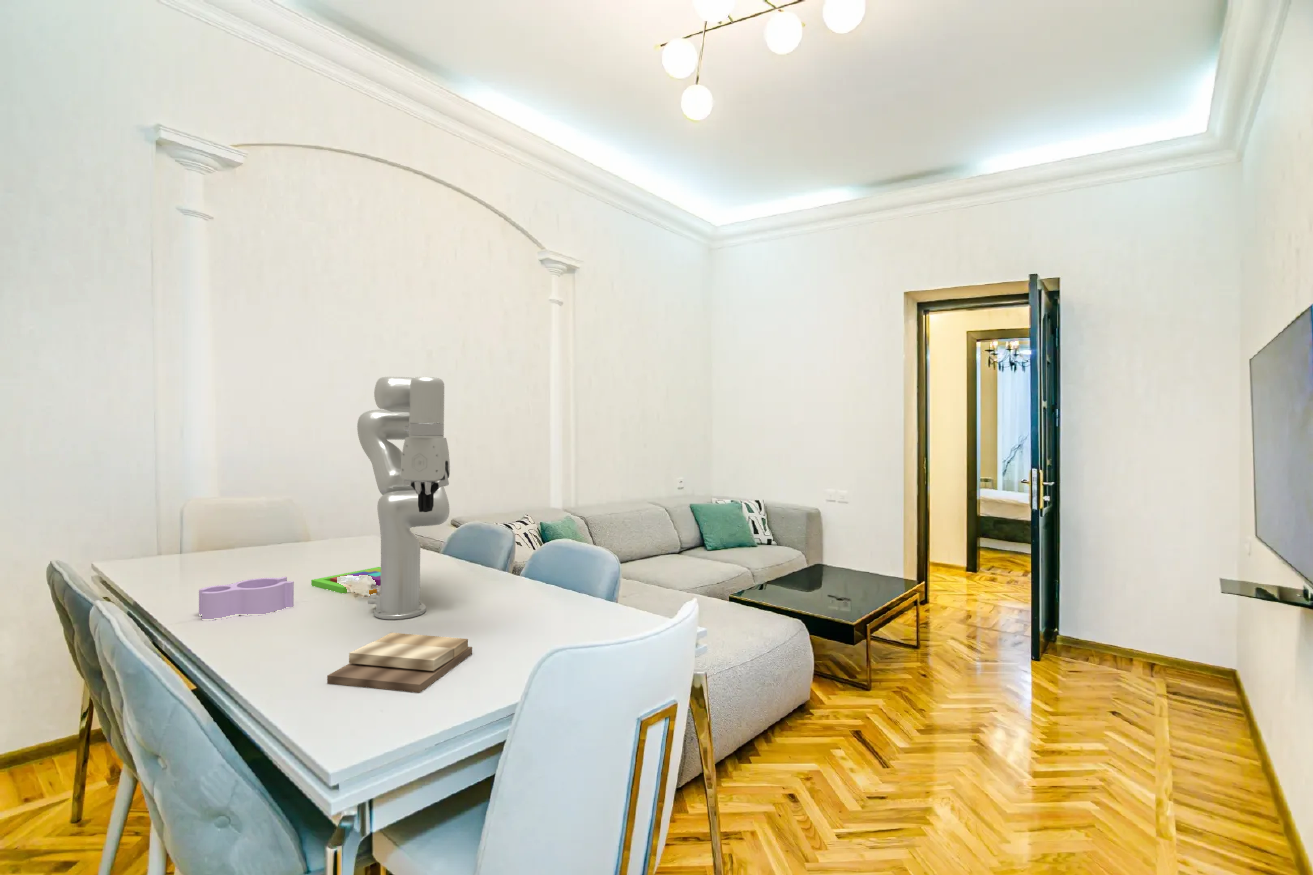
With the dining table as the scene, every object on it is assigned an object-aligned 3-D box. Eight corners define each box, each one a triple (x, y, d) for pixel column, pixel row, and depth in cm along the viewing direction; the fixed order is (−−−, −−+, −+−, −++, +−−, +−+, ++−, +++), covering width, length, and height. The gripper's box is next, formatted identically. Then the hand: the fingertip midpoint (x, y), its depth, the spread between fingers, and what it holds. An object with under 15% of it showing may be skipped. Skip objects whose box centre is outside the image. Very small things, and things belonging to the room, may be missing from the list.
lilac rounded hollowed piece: (204, 625, 158) (205, 596, 158) (195, 613, 167) (195, 586, 167) (296, 610, 172) (296, 583, 171) (283, 600, 181) (283, 574, 180)
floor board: (327, 683, 124) (327, 665, 124) (391, 646, 144) (391, 631, 144) (419, 692, 120) (419, 673, 120) (472, 653, 141) (472, 637, 141)
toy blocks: (311, 587, 196) (362, 600, 183) (311, 579, 196) (362, 592, 183) (378, 573, 215) (429, 584, 202) (379, 566, 215) (429, 577, 202)
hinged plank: (348, 663, 129) (349, 652, 129) (373, 651, 137) (373, 641, 137) (433, 670, 126) (433, 660, 126) (453, 658, 134) (453, 648, 134)
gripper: (387, 430, 148) (386, 512, 148) (448, 432, 145) (447, 515, 146) (405, 430, 155) (405, 508, 156) (464, 431, 153) (463, 510, 153)
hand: (425, 511), depth 151 cm, fingers closed
